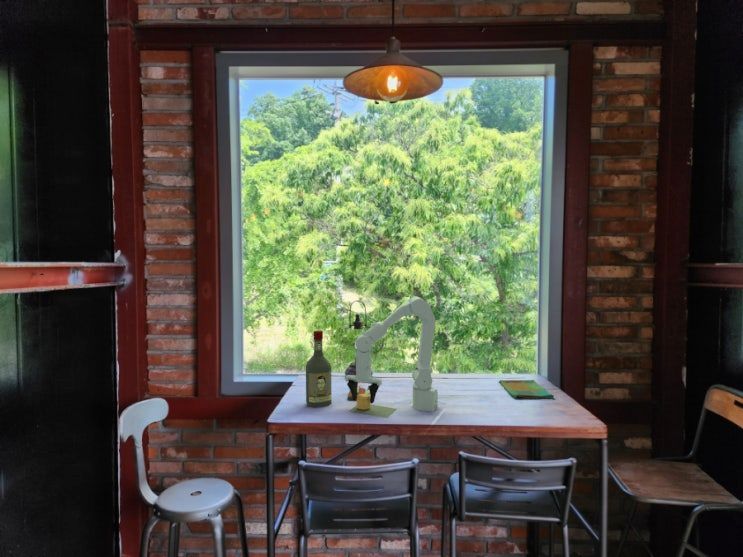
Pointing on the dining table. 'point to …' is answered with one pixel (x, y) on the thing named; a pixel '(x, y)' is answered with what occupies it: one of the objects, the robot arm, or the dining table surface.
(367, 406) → the cap
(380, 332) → the robot arm
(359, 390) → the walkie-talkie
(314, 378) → the liquor
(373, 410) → the board
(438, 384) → the dining table surface
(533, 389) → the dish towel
